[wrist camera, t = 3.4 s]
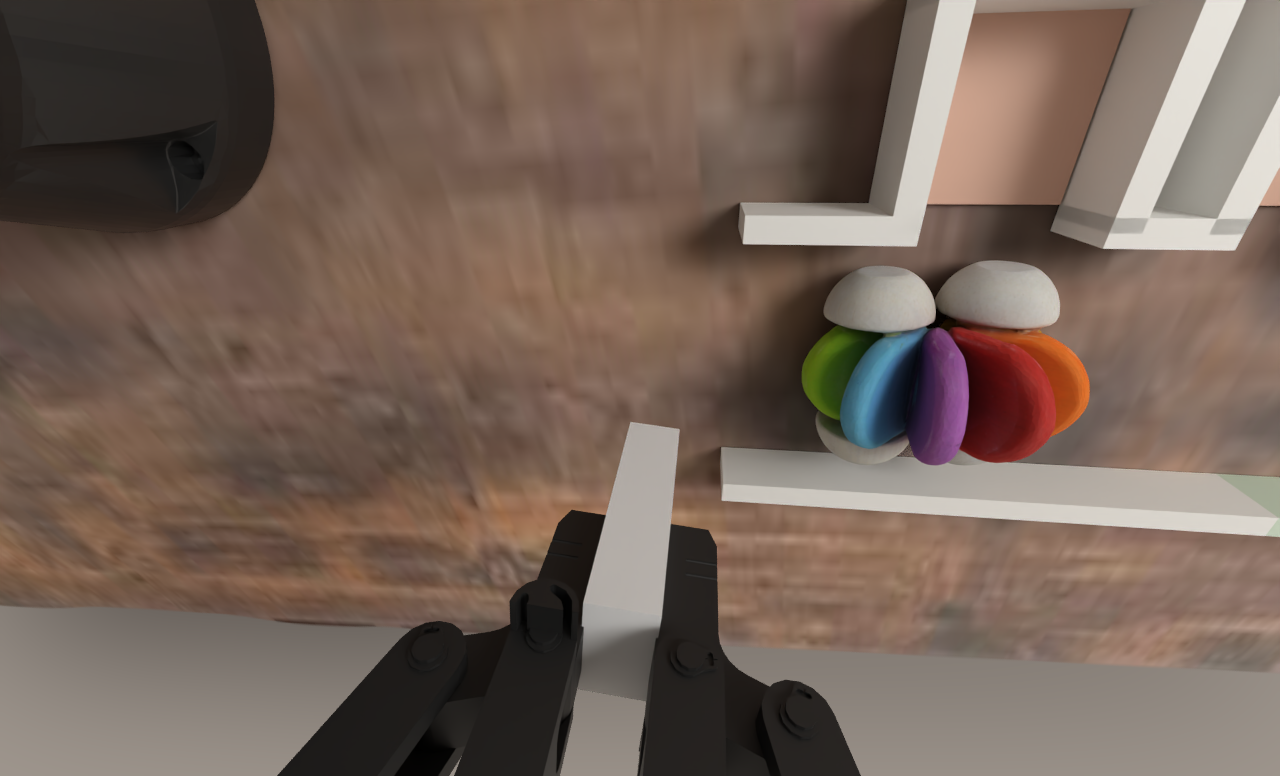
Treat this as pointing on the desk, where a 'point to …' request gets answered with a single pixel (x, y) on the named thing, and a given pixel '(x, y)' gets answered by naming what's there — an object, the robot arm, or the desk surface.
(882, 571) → the desk surface
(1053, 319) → the rainbow petal toy
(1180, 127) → the box
